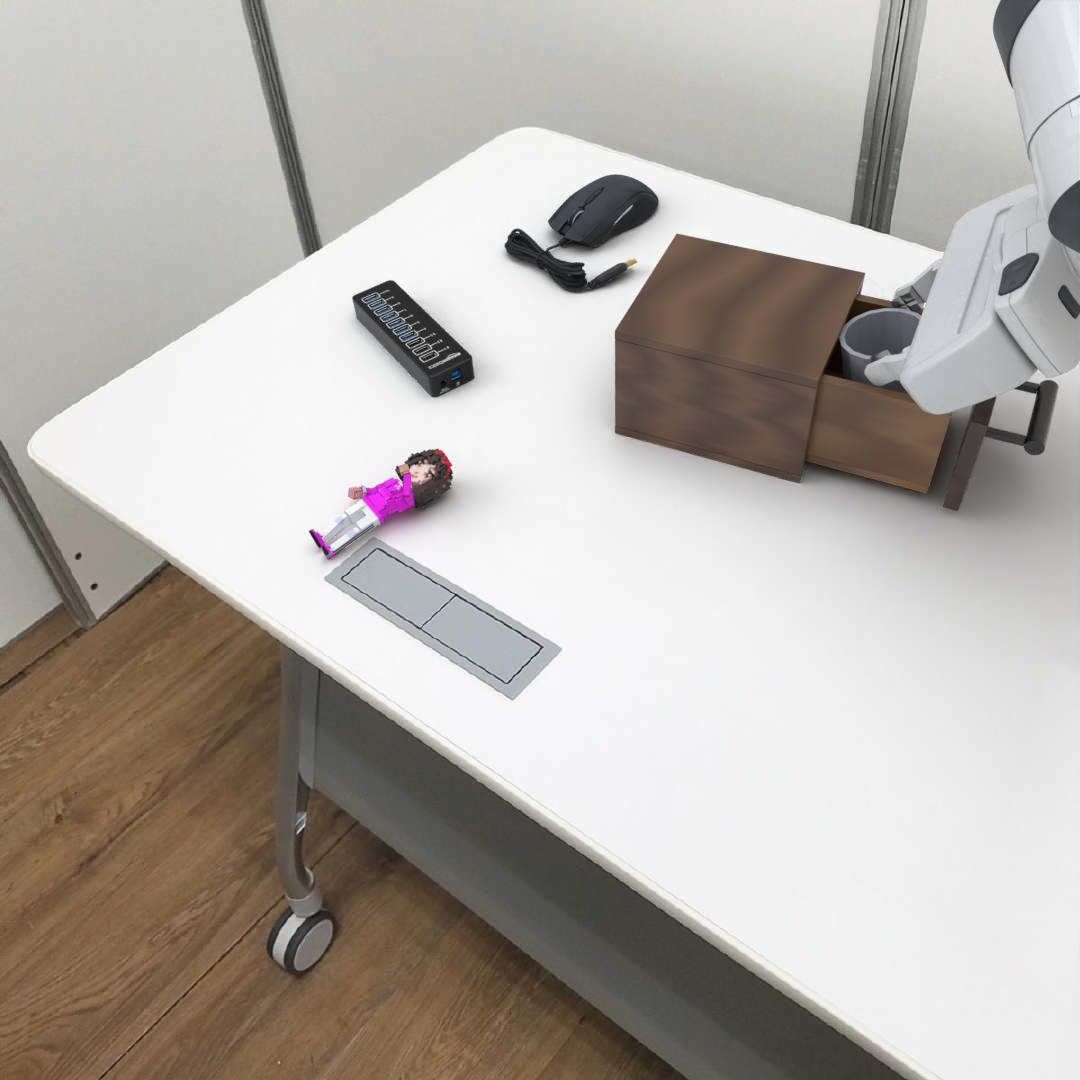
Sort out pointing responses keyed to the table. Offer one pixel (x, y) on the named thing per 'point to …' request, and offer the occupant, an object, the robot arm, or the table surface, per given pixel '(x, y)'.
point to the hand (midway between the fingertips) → (884, 337)
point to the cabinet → (730, 353)
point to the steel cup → (875, 341)
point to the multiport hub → (413, 338)
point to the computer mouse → (589, 227)
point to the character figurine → (389, 498)
